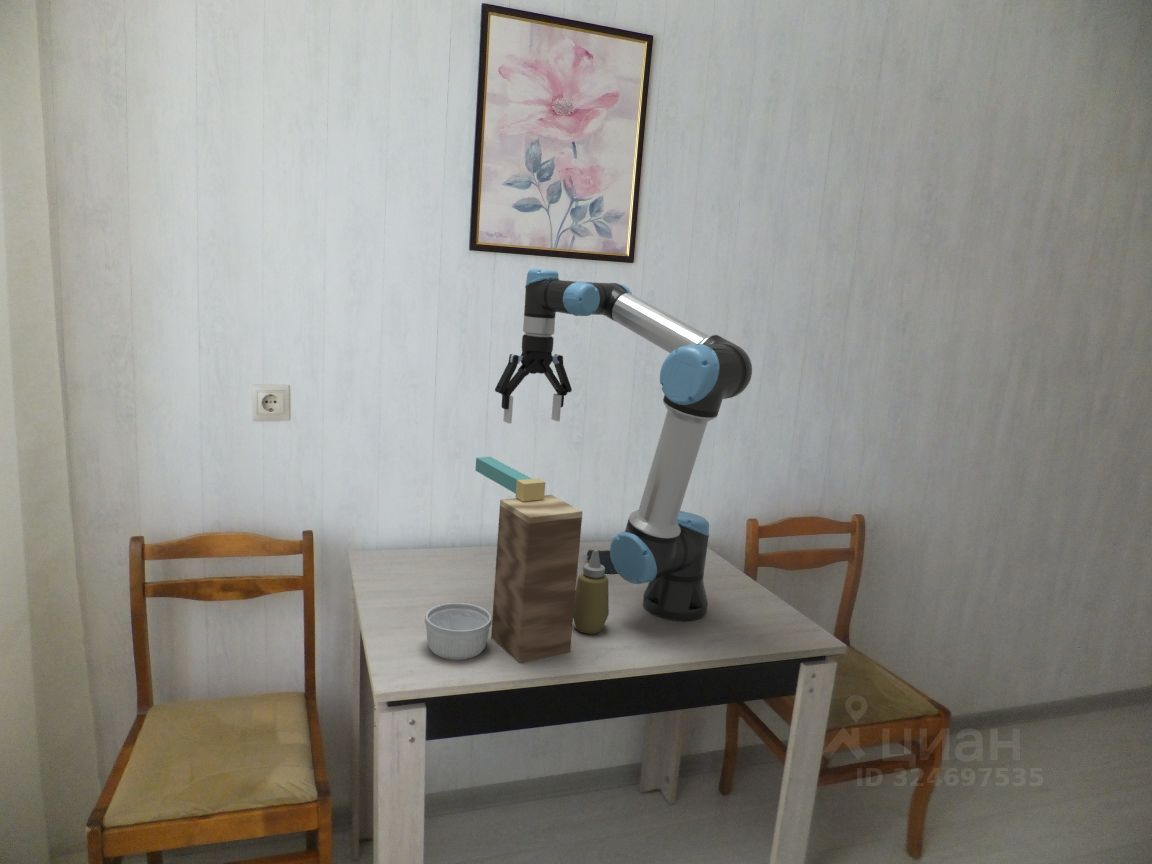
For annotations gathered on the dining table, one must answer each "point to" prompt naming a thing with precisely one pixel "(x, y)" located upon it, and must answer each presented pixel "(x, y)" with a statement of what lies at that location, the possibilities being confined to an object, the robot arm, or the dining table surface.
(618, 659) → the dining table surface
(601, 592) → the squeeze bottle
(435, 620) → the ramekin
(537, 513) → the post
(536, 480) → the peg
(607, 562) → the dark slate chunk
